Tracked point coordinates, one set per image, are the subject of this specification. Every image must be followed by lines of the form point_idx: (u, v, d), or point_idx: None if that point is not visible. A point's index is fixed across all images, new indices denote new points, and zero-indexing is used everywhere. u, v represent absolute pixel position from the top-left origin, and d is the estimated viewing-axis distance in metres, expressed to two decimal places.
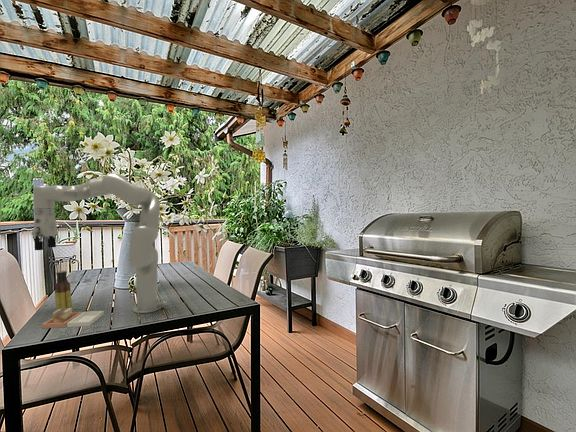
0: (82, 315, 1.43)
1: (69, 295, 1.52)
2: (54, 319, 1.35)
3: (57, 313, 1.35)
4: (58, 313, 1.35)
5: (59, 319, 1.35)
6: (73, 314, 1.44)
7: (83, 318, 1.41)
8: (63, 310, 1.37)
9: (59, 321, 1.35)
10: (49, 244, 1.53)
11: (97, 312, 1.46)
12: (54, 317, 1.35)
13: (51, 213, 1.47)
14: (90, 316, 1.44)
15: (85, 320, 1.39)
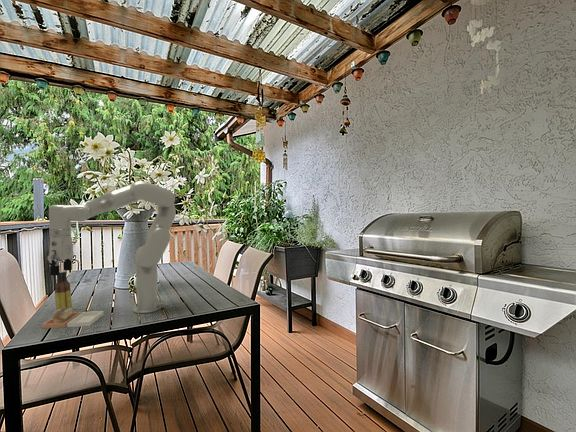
0: (82, 315, 1.43)
1: (69, 295, 1.52)
2: (54, 319, 1.35)
3: (57, 313, 1.35)
4: (58, 313, 1.35)
5: (59, 319, 1.35)
6: (73, 314, 1.44)
7: (83, 318, 1.41)
8: (63, 310, 1.37)
9: (59, 321, 1.35)
10: (65, 267, 1.41)
11: (97, 312, 1.46)
12: (54, 317, 1.35)
13: (68, 234, 1.36)
14: (90, 316, 1.44)
15: (85, 320, 1.39)
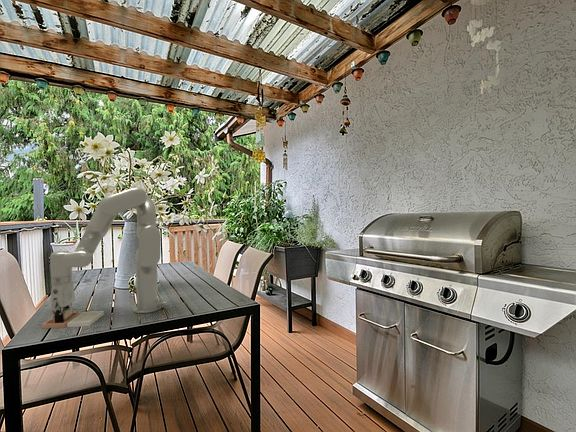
0: (82, 315, 1.43)
1: None
2: (54, 319, 1.35)
3: None
4: None
5: None
6: (73, 314, 1.44)
7: (83, 318, 1.41)
8: (63, 310, 1.37)
9: None
10: None
11: (97, 312, 1.46)
12: (54, 317, 1.35)
13: (69, 281, 1.36)
14: (90, 316, 1.44)
15: (85, 320, 1.39)
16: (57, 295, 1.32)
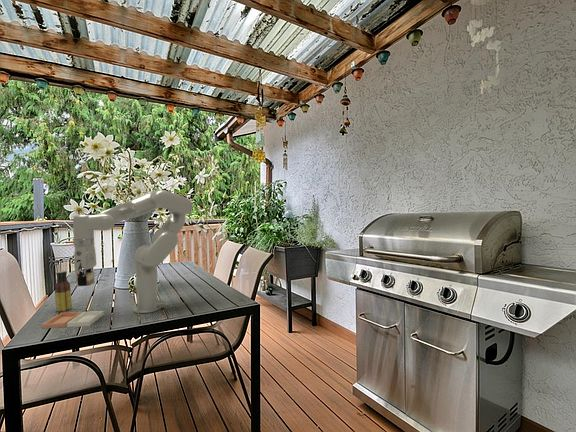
0: (82, 315, 1.43)
1: (69, 295, 1.52)
2: (77, 281, 1.36)
3: None
4: None
5: None
6: (73, 314, 1.44)
7: (83, 318, 1.41)
8: (86, 273, 1.38)
9: None
10: None
11: (97, 312, 1.46)
12: (77, 279, 1.36)
13: (91, 244, 1.37)
14: (90, 316, 1.44)
15: (85, 320, 1.39)
16: (80, 257, 1.33)
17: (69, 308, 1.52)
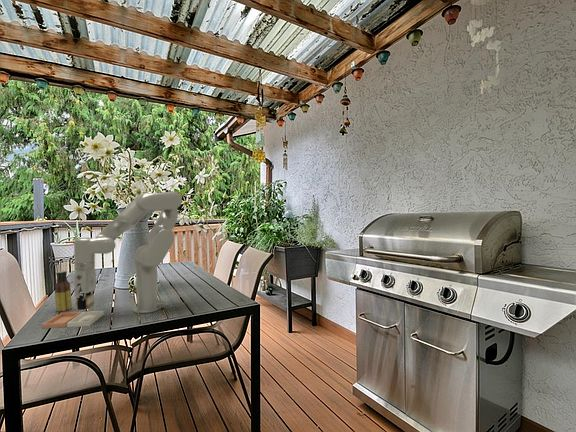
0: (82, 315, 1.43)
1: (69, 295, 1.52)
2: None
3: None
4: None
5: None
6: (73, 314, 1.44)
7: (83, 318, 1.41)
8: (85, 296, 1.38)
9: None
10: None
11: (97, 312, 1.46)
12: None
13: (92, 267, 1.38)
14: (90, 316, 1.44)
15: (85, 320, 1.39)
16: (81, 281, 1.33)
17: (69, 308, 1.52)
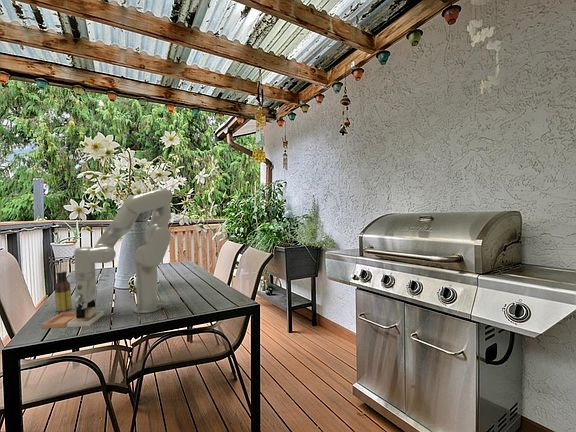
0: None
1: (69, 295, 1.52)
2: None
3: None
4: None
5: (83, 318, 1.37)
6: (73, 314, 1.44)
7: None
8: (87, 309, 1.39)
9: (83, 320, 1.37)
10: None
11: (97, 312, 1.46)
12: None
13: (92, 277, 1.38)
14: None
15: None
16: (81, 291, 1.34)
17: (69, 308, 1.52)
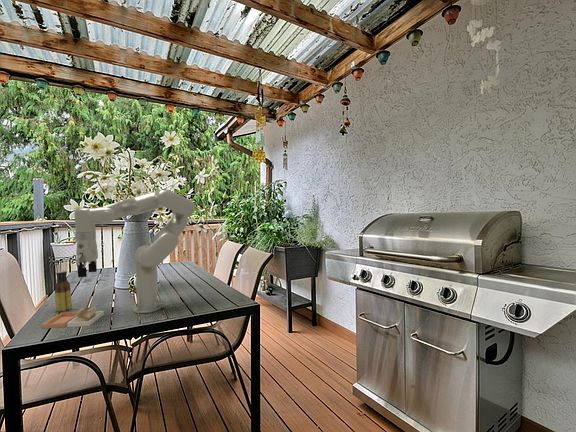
0: None
1: (69, 295, 1.52)
2: (78, 318, 1.36)
3: (81, 312, 1.36)
4: (82, 312, 1.36)
5: (83, 318, 1.37)
6: (73, 314, 1.44)
7: None
8: (87, 309, 1.39)
9: (83, 320, 1.37)
10: (90, 269, 1.44)
11: (97, 312, 1.46)
12: (78, 316, 1.36)
13: (93, 237, 1.39)
14: None
15: None
16: (83, 250, 1.35)
17: (69, 308, 1.52)
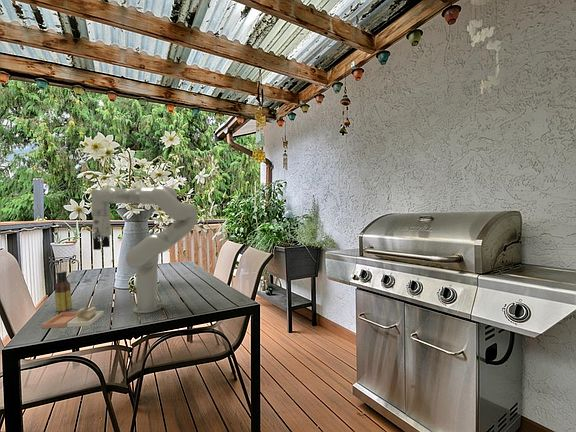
0: None
1: (69, 295, 1.52)
2: (78, 318, 1.36)
3: (81, 312, 1.36)
4: (82, 312, 1.36)
5: (83, 318, 1.37)
6: (73, 314, 1.44)
7: None
8: (87, 309, 1.39)
9: (83, 320, 1.37)
10: (103, 244, 1.60)
11: (97, 312, 1.46)
12: (78, 316, 1.36)
13: (107, 214, 1.55)
14: None
15: None
16: (98, 225, 1.50)
17: (69, 308, 1.52)
